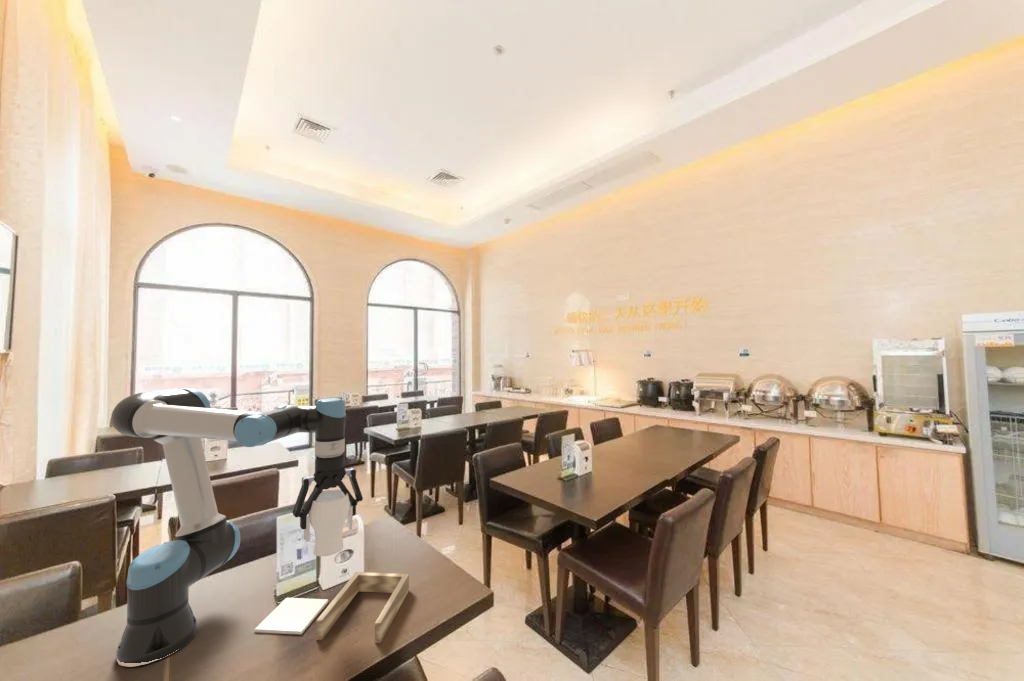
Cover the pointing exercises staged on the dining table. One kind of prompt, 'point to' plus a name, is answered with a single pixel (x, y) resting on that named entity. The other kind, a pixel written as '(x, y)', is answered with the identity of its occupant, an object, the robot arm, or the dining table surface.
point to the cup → (329, 521)
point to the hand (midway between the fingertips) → (328, 533)
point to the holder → (367, 583)
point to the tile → (292, 616)
